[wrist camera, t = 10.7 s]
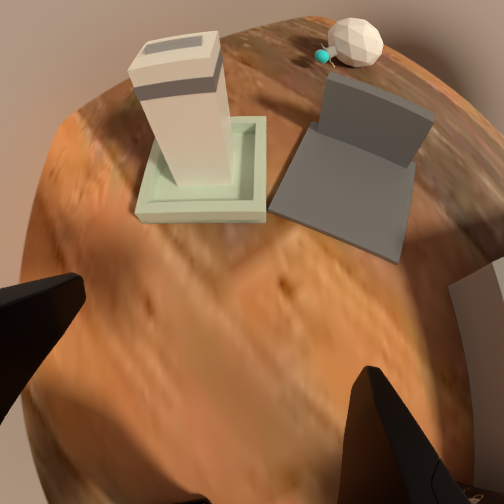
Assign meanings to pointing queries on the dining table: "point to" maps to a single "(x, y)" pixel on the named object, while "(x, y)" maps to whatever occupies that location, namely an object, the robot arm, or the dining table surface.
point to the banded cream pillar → (187, 106)
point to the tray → (210, 196)
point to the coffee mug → (481, 495)
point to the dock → (356, 167)
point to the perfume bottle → (352, 43)
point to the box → (484, 366)
